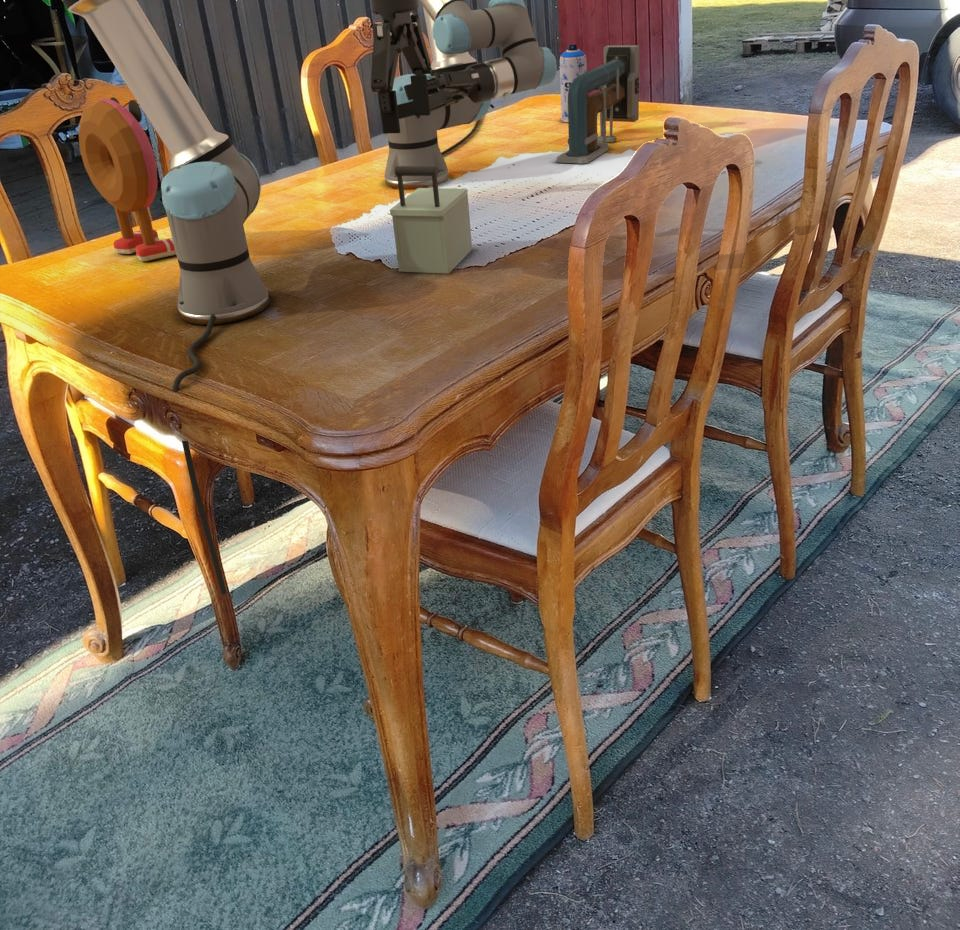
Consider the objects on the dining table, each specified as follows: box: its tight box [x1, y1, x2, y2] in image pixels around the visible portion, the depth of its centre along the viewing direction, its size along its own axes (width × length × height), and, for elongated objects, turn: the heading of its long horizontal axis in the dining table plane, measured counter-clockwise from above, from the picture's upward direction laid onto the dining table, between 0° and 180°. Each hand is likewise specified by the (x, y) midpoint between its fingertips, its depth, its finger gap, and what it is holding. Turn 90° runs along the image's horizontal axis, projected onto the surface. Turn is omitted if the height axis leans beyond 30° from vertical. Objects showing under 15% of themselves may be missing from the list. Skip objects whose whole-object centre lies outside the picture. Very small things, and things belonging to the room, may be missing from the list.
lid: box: [389, 166, 469, 217], centre depth 172 cm, size 14×10×8 cm
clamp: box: [555, 44, 640, 164], centre depth 242 cm, size 35×9×21 cm, turn 151°
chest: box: [391, 195, 473, 275], centre depth 177 cm, size 13×10×10 cm
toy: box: [78, 96, 177, 262], centre depth 190 cm, size 21×10×30 cm, turn 47°
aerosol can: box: [559, 43, 588, 123], centre depth 273 cm, size 8×8×20 cm
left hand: (407, 124), depth 164 cm, fingers open, 13 cm apart
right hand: (396, 104), depth 195 cm, fingers open, 13 cm apart
